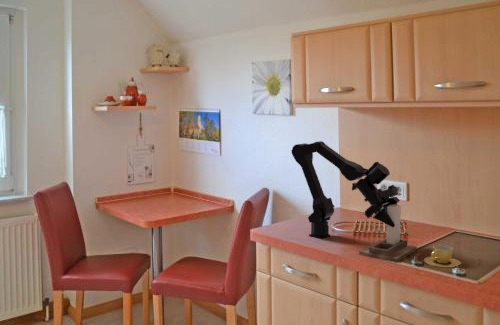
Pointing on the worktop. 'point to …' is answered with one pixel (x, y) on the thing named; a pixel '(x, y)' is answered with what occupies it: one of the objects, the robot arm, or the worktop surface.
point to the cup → (442, 256)
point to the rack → (388, 250)
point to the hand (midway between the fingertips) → (397, 225)
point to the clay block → (395, 215)
